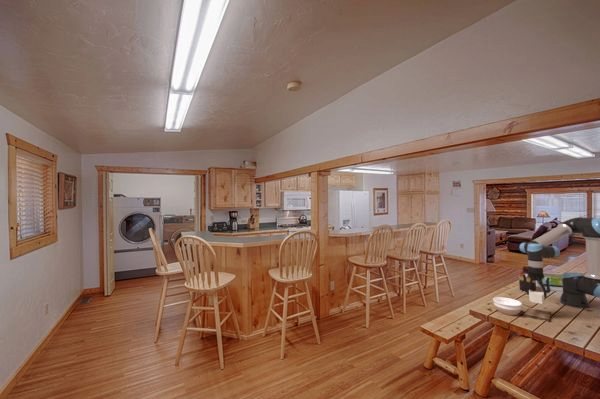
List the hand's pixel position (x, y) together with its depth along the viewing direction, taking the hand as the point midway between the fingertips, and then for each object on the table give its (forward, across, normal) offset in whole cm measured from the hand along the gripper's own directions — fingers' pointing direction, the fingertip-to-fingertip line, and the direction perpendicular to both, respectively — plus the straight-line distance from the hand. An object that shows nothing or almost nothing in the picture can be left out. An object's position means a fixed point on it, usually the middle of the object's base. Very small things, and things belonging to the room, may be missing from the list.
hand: (536, 301), depth 176 cm
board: (+10, 0, -1) cm, 10 cm away
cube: (0, 0, 0) cm, 0 cm away
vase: (+10, +12, -58) cm, 60 cm away
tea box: (+10, -1, -76) cm, 77 cm away
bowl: (+11, +15, +5) cm, 19 cm away
